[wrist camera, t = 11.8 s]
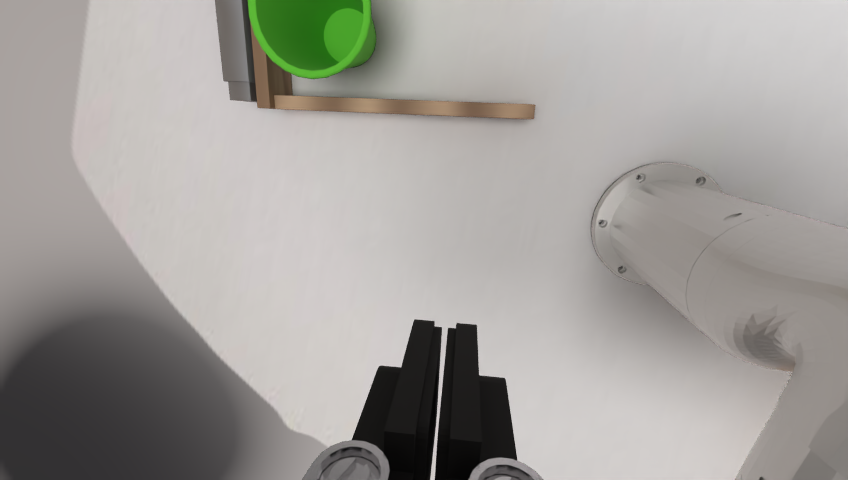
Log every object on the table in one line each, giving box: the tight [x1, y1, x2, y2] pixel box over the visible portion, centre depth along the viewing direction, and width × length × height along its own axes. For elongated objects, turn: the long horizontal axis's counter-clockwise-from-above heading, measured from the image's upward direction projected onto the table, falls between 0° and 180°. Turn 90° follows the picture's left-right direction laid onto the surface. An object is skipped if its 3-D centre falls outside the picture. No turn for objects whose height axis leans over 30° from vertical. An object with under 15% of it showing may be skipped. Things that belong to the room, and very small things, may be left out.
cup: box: [248, 0, 376, 79], centre depth 33 cm, size 9×9×11 cm
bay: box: [215, 0, 535, 119], centre depth 35 cm, size 28×14×5 cm, turn 88°
